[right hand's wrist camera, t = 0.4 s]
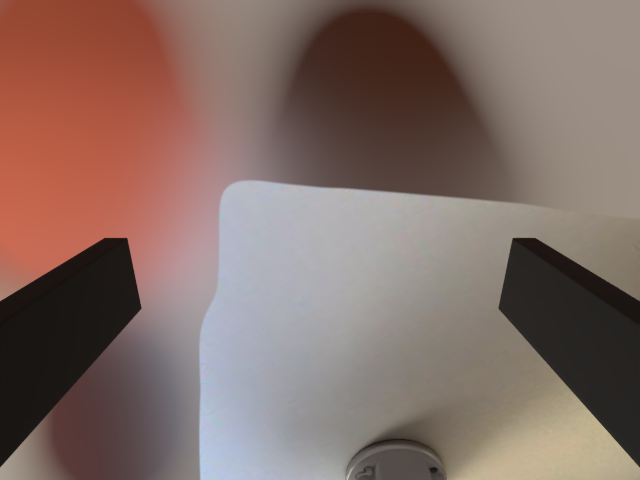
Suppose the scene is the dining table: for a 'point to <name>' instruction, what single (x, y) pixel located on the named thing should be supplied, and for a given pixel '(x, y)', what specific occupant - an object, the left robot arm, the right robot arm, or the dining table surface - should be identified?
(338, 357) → the dining table surface
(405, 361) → the dining table surface
